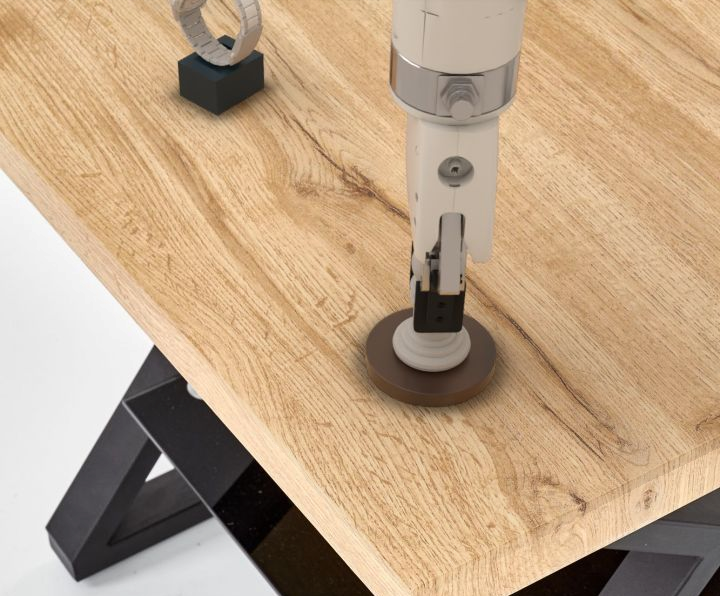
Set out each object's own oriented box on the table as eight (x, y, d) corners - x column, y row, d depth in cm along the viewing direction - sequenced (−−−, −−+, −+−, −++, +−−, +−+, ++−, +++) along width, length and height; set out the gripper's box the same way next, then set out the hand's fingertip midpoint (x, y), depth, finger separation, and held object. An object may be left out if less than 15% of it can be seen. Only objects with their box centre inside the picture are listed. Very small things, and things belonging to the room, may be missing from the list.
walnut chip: (488, 318, 112) (490, 305, 111) (501, 406, 106) (502, 393, 105) (362, 319, 112) (362, 306, 111) (367, 408, 106) (368, 395, 105)
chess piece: (381, 330, 109) (386, 226, 102) (454, 315, 110) (463, 212, 103) (407, 382, 106) (413, 278, 99) (481, 366, 107) (492, 262, 100)
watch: (210, 59, 133) (203, -65, 125) (280, 95, 130) (277, -29, 121) (162, 86, 130) (152, -38, 122) (232, 124, 127) (227, -1, 118)
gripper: (534, 151, 86) (503, 394, 100) (504, -8, 97) (479, 232, 111) (397, 151, 86) (385, 395, 100) (382, -8, 97) (373, 233, 111)
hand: (435, 307), depth 105 cm, fingers closed on chess piece, 3 cm apart
